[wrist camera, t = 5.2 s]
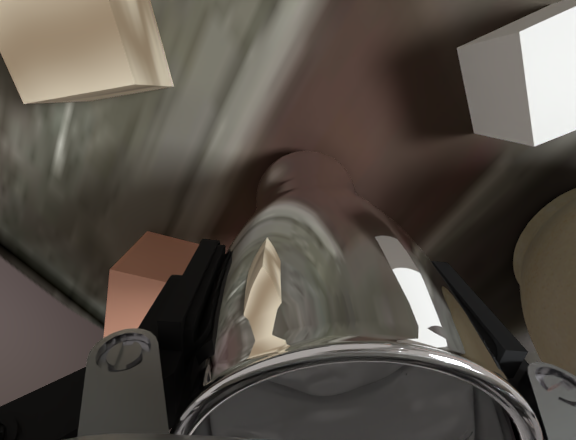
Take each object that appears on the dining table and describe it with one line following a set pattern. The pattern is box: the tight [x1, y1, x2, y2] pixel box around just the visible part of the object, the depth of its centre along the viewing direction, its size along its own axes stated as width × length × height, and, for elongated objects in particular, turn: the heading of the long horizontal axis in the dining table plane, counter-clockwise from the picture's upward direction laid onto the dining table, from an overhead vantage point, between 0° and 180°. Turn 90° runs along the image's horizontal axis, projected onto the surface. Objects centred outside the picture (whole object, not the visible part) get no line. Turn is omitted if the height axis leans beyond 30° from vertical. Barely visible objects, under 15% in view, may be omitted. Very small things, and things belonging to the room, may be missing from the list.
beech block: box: [0, 0, 174, 104], centre depth 15 cm, size 5×5×5 cm
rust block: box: [104, 231, 199, 337], centre depth 20 cm, size 5×5×5 cm
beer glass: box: [170, 151, 543, 440], centre depth 12 cm, size 7×7×15 cm
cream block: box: [457, 0, 576, 146], centre depth 15 cm, size 5×5×5 cm
